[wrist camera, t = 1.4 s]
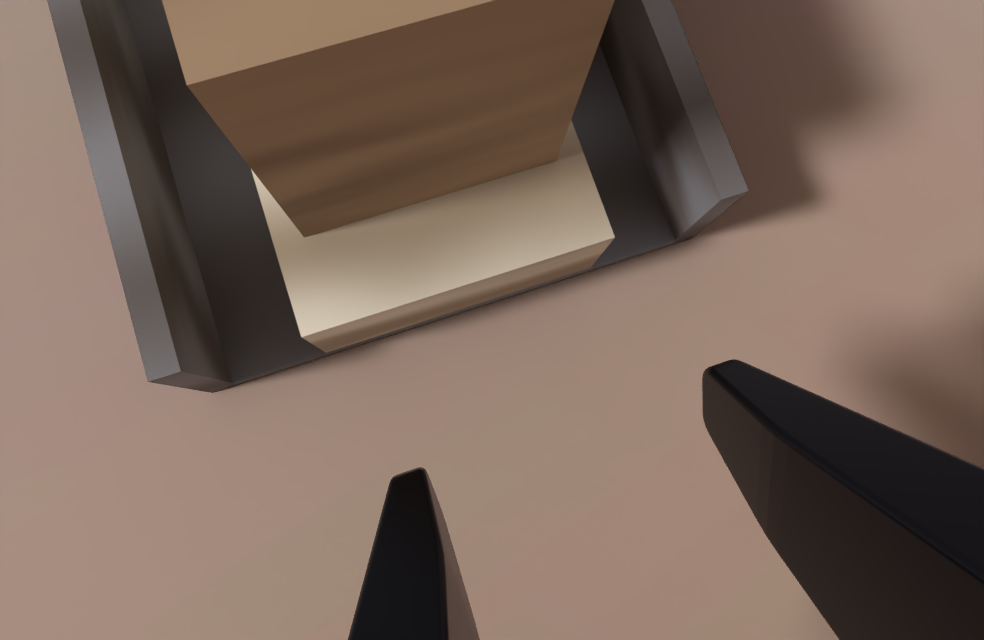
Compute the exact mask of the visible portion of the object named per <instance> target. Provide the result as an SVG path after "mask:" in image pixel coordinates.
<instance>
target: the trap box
mask: <svg viewBox="0 0 984 640" xmlns="http://www.w3.org/2000/svg"><path fill="white" fill-rule="evenodd" d="M47 1H48V5H49V9H50V13H51V17H52V20H53V24H54V28H55V32H56V36H57V39H58V43H59V47H60V51H61V54H62V58H63V62H64V66H65V70H66V73H67V77H68V81H69V85H70V89H71V92H72V96H73V100H74V104H75V107H76V111H77V115H78V119H79V123H80V126H81V130H82V134H83V138H84V142H85V145H86V149H87V153H88V157H89V160H90V164H91V168H92V172H93V176H94V179H95V183H96V187H97V191H98V195H99V198H100V202H101V206H102V210H103V213H104V217H105V221H106V225H107V229H108V232H109V236H110V240H111V244H112V248H113V251H114V255H115V259H116V263H117V266H118V270H119V274H120V278H121V282H122V285H123V289H124V293H125V297H126V301H127V304H128V308H129V312H130V316H131V319H132V323H133V327H134V331H135V335H136V338H137V342H138V346H139V350H140V354H141V357H142V361H143V365H144V369H145V372H146V376H147V380H148V382H152V383H158V384H164V385H170V386H176V387H182V388H187V389H193V390H199V391H205V392H211V393H213V392H216V391H219V390H222V389H225V388H229V387H232V386H235V385H238V384H241V383H244V382H247V381H250V380H253V379H256V378H260V377H263V376H266V375H269V374H272V373H275V372H278V371H281V370H284V369H287V368H291V367H294V366H297V365H300V364H303V363H306V362H309V361H312V360H315V359H319V358H322V357H325V356H328V355H331V354H334V353H337V352H340V351H343V350H346V349H350V348H353V347H356V346H359V345H362V344H365V343H368V342H371V341H374V340H377V339H381V338H384V337H387V336H390V335H393V334H396V333H399V332H402V331H405V330H408V329H412V328H415V327H418V326H421V325H424V324H427V323H430V322H433V321H436V320H439V319H443V318H446V317H449V316H452V315H455V314H458V313H461V312H464V311H467V310H471V309H474V308H477V307H480V306H483V305H486V304H489V303H492V302H495V301H498V300H502V299H505V298H508V297H511V296H514V295H517V294H520V293H523V292H526V291H529V290H533V289H536V288H539V287H542V286H545V285H548V284H551V283H554V282H557V281H560V280H564V279H567V278H570V277H573V276H576V275H579V274H582V273H585V272H588V271H591V270H595V269H598V268H601V267H604V266H607V265H610V264H613V263H616V262H619V261H622V260H626V259H629V258H632V257H635V256H638V255H641V254H644V253H647V252H650V251H654V250H657V249H660V248H663V247H666V246H669V245H672V244H675V243H678V242H681V241H685V240H688V239H691V238H693V237H694V236H695V235H696V234H697V233H699V232H700V231H701V230H702V229H704V228H705V227H706V226H707V225H708V224H710V223H711V222H712V221H713V220H714V219H716V218H717V217H718V216H719V215H720V214H722V213H723V212H724V211H725V210H726V209H728V208H729V207H730V206H731V205H732V204H734V203H735V202H736V201H737V200H738V199H740V198H741V197H742V196H743V195H744V194H746V193H747V192H748V191H749V190H748V188H747V185H746V183H745V180H744V178H743V175H742V173H741V170H740V168H739V165H738V163H737V160H736V158H735V155H734V153H733V151H732V148H731V146H730V143H729V141H728V138H727V136H726V133H725V131H724V128H723V126H722V123H721V121H720V119H719V116H718V114H717V111H716V109H715V106H714V104H713V101H712V99H711V96H710V94H709V91H708V89H707V87H706V84H705V82H704V79H703V77H702V74H701V72H700V69H699V67H698V64H697V62H696V59H695V57H694V55H693V52H692V50H691V47H690V45H689V42H688V40H687V37H686V35H685V32H684V30H683V27H682V25H681V22H680V20H679V18H678V15H677V13H676V10H675V8H674V5H673V3H672V0H615V1H614V3H613V6H612V9H611V12H610V14H609V17H608V20H607V23H606V25H605V28H604V31H603V34H602V36H601V39H600V42H599V44H598V47H597V50H596V53H595V55H594V58H593V61H592V64H591V66H590V69H589V72H588V75H587V77H586V80H585V83H584V85H583V88H582V91H581V94H580V96H579V99H578V102H577V105H576V107H575V110H574V113H573V116H572V118H571V121H570V124H569V126H568V129H567V132H566V135H565V137H564V140H563V143H562V146H561V148H560V151H559V154H558V157H557V159H556V161H554V162H551V163H548V164H545V165H541V166H538V167H535V168H531V169H528V170H525V171H522V172H518V173H515V174H512V175H508V176H505V177H502V178H498V179H495V180H492V181H489V182H485V183H482V184H479V185H475V186H472V187H469V188H466V189H462V190H459V191H456V192H452V193H449V194H446V195H443V196H439V197H436V198H433V199H429V200H426V201H423V202H419V203H416V204H413V205H410V206H406V207H403V208H400V209H396V210H393V211H390V212H387V213H383V214H380V215H377V216H373V217H370V218H367V219H364V220H360V221H357V222H354V223H350V224H347V225H344V226H340V227H337V228H334V229H331V230H327V231H324V232H321V233H317V234H314V235H311V236H308V237H303V235H302V234H301V233H300V231H299V230H298V229H297V228H296V226H295V225H294V224H293V222H292V221H291V220H290V218H289V217H288V216H287V215H286V213H285V212H284V211H283V209H282V208H281V207H280V206H279V204H278V203H277V202H276V200H275V199H274V198H273V196H272V195H271V194H270V193H269V191H268V190H267V189H266V187H265V186H264V185H263V184H262V182H261V181H260V180H259V178H258V177H257V176H256V174H255V173H254V172H253V171H252V169H251V168H250V167H249V165H248V164H247V163H246V162H245V160H244V159H243V158H242V156H241V155H240V154H239V152H238V151H237V150H236V149H235V147H234V146H233V145H232V143H231V142H230V141H229V140H228V138H227V137H226V136H225V134H224V133H223V132H222V130H221V129H220V128H219V127H218V125H217V124H216V123H215V121H214V120H213V119H212V118H211V116H210V115H209V114H208V112H207V111H206V110H205V108H204V107H203V106H202V105H201V103H200V102H199V101H198V99H197V98H196V97H195V96H194V94H193V93H192V92H191V90H190V89H189V88H188V86H187V85H186V81H185V78H184V75H183V71H182V68H181V64H180V61H179V57H178V54H177V50H176V47H175V44H174V40H173V37H172V33H171V30H170V26H169V23H168V19H167V16H166V13H165V9H164V6H163V2H162V0H47Z"/></svg>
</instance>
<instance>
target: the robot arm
mask: <svg viewBox="0 0 984 640" xmlns="http://www.w3.org/2000/svg"><path fill="white" fill-rule="evenodd" d="M702 391H703V418H704V423H705V426H706V428H707V431H708V433H709V435H710V436H711V438H712V440H713V442H714V444H715V445H716V447H717V449H718V451H719V453H720V454H721V456H722V458H723V460H724V462H725V463H726V465H727V467H728V469H729V471H730V472H731V474H732V476H733V478H734V480H735V481H736V483H737V485H738V487H739V489H740V490H741V492H742V494H743V496H744V498H745V499H746V501H747V503H748V505H749V507H750V508H751V510H752V512H753V514H754V516H755V517H756V519H757V521H758V523H759V524H760V526H761V528H762V529H763V531H764V533H765V534H766V536H767V538H768V539H769V540H770V542H771V543H772V545H773V546H774V548H775V549H776V551H777V552H778V554H779V555H780V557H781V558H782V559H783V561H784V562H785V564H786V565H787V566H788V568H789V569H790V571H791V572H792V574H793V575H794V576H795V578H796V579H797V581H798V582H799V583H800V585H801V586H802V588H803V589H804V590H805V592H806V593H807V595H808V596H809V597H810V599H811V600H812V602H813V603H814V605H815V606H816V607H817V609H818V610H819V612H820V613H821V614H822V616H823V617H824V619H825V620H826V621H827V623H828V624H829V626H830V627H831V628H832V630H833V631H834V633H835V634H836V636H837V637H838V638H839V640H984V469H983V468H981V467H978V466H976V465H974V464H972V463H969V462H967V461H965V460H963V459H960V458H958V457H956V456H954V455H951V454H949V453H947V452H945V451H942V450H940V449H938V448H936V447H933V446H931V445H929V444H927V443H924V442H922V441H920V440H918V439H915V438H913V437H911V436H909V435H906V434H904V433H902V432H900V431H897V430H895V429H893V428H891V427H888V426H886V425H884V424H882V423H879V422H877V421H875V420H873V419H870V418H868V417H866V416H864V415H861V414H859V413H857V412H855V411H852V410H850V409H848V408H846V407H843V406H841V405H839V404H837V403H834V402H832V401H830V400H828V399H825V398H823V397H821V396H819V395H816V394H814V393H812V392H810V391H807V390H805V389H803V388H801V387H798V386H796V385H794V384H792V383H789V382H787V381H785V380H783V379H780V378H778V377H776V376H774V375H771V374H769V373H767V372H765V371H762V370H760V369H758V368H756V367H753V366H751V365H749V364H747V363H744V362H742V361H739V360H729V361H726V362H723V363H720V364H717V365H714V366H711V367H708V368H707V369H705V371H704V373H703V378H702ZM348 640H480V639H479V636H478V632H477V628H476V624H475V620H474V617H473V614H472V610H471V607H470V603H469V600H468V597H467V593H466V590H465V586H464V583H463V580H462V576H461V573H460V569H459V566H458V563H457V559H456V556H455V552H454V549H453V546H452V542H451V539H450V535H449V532H448V529H447V525H446V522H445V519H444V516H443V513H442V510H441V507H440V505H439V502H438V499H437V497H436V494H435V491H434V489H433V486H432V484H431V481H430V478H429V476H428V473H427V471H426V470H425V469H424V468H421V467H419V468H416V469H413V470H410V471H407V472H404V473H401V474H398V475H396V476H394V477H393V478H392V479H391V481H390V484H389V487H388V491H387V495H386V498H385V502H384V506H383V510H382V513H381V517H380V521H379V525H378V528H377V532H376V536H375V540H374V543H373V547H372V551H371V555H370V558H369V562H368V566H367V570H366V573H365V577H364V581H363V585H362V588H361V592H360V596H359V600H358V603H357V607H356V611H355V615H354V618H353V622H352V626H351V630H350V633H349V637H348Z"/></svg>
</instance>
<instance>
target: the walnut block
mask: <svg viewBox="0 0 984 640" xmlns="http://www.w3.org/2000/svg"><path fill="white" fill-rule="evenodd" d="M614 1H615V0H162V2H163V6H164V9H165V13H166V16H167V19H168V23H169V26H170V30H171V33H172V37H173V40H174V44H175V47H176V50H177V54H178V57H179V61H180V64H181V68H182V71H183V75H184V78H185V81H186V85H187V86H188V88H189V89H190V90H191V92H192V93H193V94H194V96H195V97H196V98H197V99H198V101H199V102H200V103H201V105H202V106H203V107H204V108H205V110H206V111H207V112H208V114H209V115H210V116H211V118H212V119H213V120H214V121H215V123H216V124H217V125H218V127H219V128H220V129H221V130H222V132H223V133H224V134H225V136H226V137H227V138H228V140H229V141H230V142H231V143H232V145H233V146H234V147H235V149H236V150H237V151H238V152H239V154H240V155H241V156H242V158H243V159H244V160H245V162H246V163H247V164H248V165H249V167H250V168H251V169H252V171H253V172H254V173H255V174H256V176H257V177H258V178H259V180H260V181H261V182H262V184H263V185H264V186H265V187H266V189H267V190H268V191H269V193H270V194H271V195H272V196H273V198H274V199H275V200H276V202H277V203H278V204H279V206H280V207H281V208H282V209H283V211H284V212H285V213H286V215H287V216H288V217H289V218H290V220H291V221H292V222H293V224H294V225H295V226H296V228H297V229H298V230H299V231H300V233H301V234H302V235H303V237H308V236H311V235H314V234H317V233H321V232H324V231H327V230H331V229H334V228H337V227H340V226H344V225H347V224H350V223H354V222H357V221H360V220H364V219H367V218H370V217H373V216H377V215H380V214H383V213H387V212H390V211H393V210H396V209H400V208H403V207H406V206H410V205H413V204H416V203H419V202H423V201H426V200H429V199H433V198H436V197H439V196H443V195H446V194H449V193H452V192H456V191H459V190H462V189H466V188H469V187H472V186H475V185H479V184H482V183H485V182H489V181H492V180H495V179H498V178H502V177H505V176H508V175H512V174H515V173H518V172H522V171H525V170H528V169H531V168H535V167H538V166H541V165H545V164H548V163H551V162H554V161H556V159H557V157H558V154H559V151H560V148H561V146H562V143H563V140H564V137H565V135H566V132H567V129H568V126H569V124H570V121H571V118H572V116H573V113H574V110H575V107H576V105H577V102H578V99H579V96H580V94H581V91H582V88H583V85H584V83H585V80H586V77H587V75H588V72H589V69H590V66H591V64H592V61H593V58H594V55H595V53H596V50H597V47H598V44H599V42H600V39H601V36H602V34H603V31H604V28H605V25H606V23H607V20H608V17H609V14H610V12H611V9H612V6H613V3H614Z"/></svg>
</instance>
